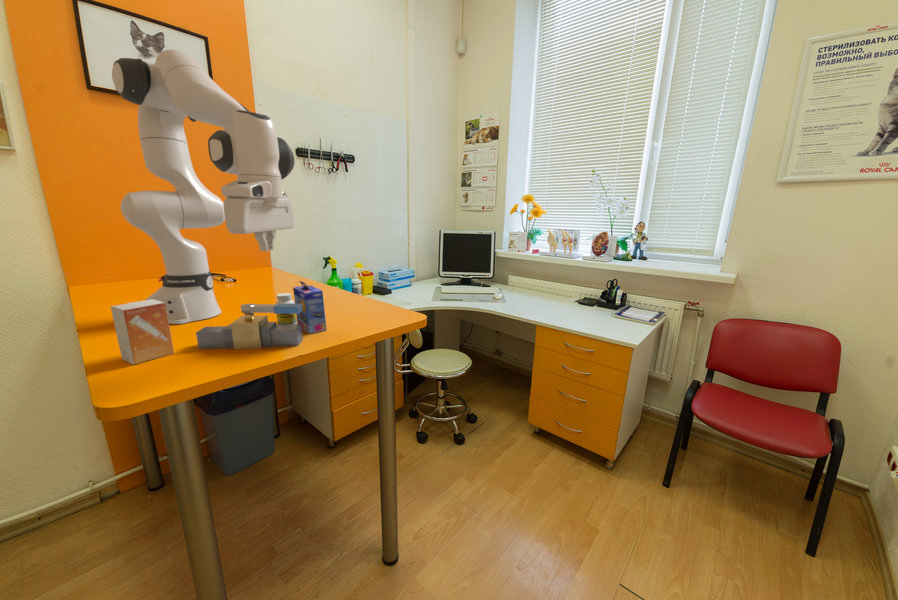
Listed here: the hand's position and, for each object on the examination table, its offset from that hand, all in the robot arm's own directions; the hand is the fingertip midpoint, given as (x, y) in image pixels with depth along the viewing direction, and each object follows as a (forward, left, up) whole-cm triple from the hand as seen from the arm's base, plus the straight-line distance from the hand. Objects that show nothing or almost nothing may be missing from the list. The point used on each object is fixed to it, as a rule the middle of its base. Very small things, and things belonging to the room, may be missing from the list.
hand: (267, 250), depth 84 cm
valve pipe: (-7, +4, -25) cm, 26 cm away
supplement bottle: (-3, +20, -25) cm, 32 cm away
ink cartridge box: (+5, +16, -25) cm, 30 cm away
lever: (-2, +3, -16) cm, 17 cm away
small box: (-28, -2, -25) cm, 38 cm away
